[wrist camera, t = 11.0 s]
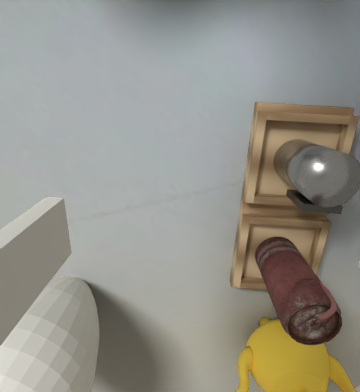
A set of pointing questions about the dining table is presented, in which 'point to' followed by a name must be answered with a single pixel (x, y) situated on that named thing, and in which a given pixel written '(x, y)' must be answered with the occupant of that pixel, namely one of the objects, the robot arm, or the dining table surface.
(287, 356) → the teapot
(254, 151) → the tray
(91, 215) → the dining table surface
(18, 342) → the vase
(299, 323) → the can
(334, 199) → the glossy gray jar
